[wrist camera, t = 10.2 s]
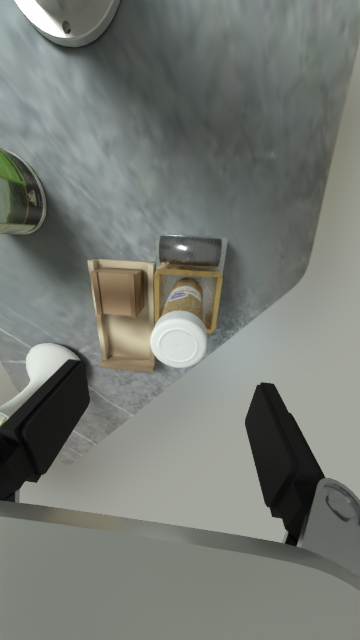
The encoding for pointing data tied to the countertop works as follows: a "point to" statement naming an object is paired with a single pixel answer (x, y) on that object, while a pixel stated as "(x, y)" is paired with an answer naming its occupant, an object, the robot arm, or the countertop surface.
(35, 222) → the coffee can
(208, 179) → the countertop surface
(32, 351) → the flower in vase
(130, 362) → the tray
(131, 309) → the tan cardboard box
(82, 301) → the countertop surface
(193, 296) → the sprinkles bottle
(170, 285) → the gold open box
